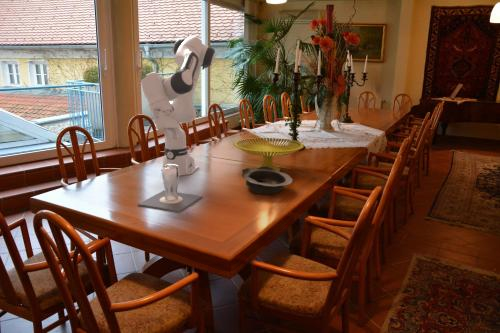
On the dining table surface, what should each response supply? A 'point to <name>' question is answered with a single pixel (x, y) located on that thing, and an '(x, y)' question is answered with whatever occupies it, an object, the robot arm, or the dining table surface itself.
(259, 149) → the cake stand
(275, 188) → the stone bowl
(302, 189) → the dining table surface
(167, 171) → the beer glass
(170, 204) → the place mat
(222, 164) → the dining table surface
